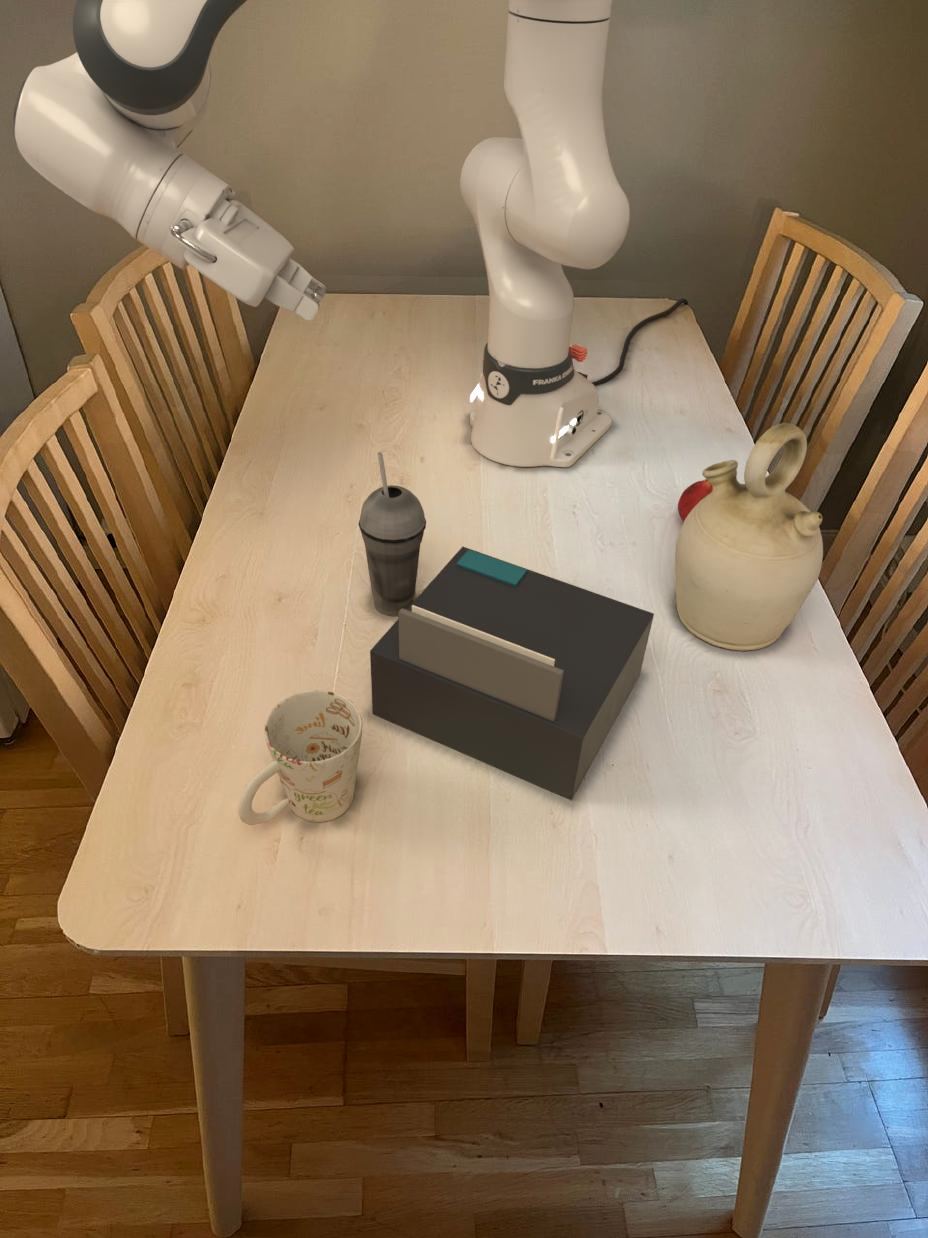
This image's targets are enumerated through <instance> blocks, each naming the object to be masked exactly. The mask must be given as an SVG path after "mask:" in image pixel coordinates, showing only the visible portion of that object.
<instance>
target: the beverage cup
mask: <svg viewBox="0 0 928 1238" xmlns="http://www.w3.org/2000/svg"><path fill="white" fill-rule="evenodd" d="M377 458H378V466H379V471H380V472H379V473H380V478H381V479H380V480H381V484H382V485H381V487H378V488H377V489H376V490H374V491H372V492H371V493H370V494H369V495H368V496H367V497H366V499H365V500H364V501H363V504H362V507H361V510H360V515H359V520H358V528H359V531H360V533H361V537H362V540H363V543H364V548H365V554H366V561H367V568H368V576H369V581H370V589H371V594H372V598H373V603H374V608H375V610H376V611H377V612H379V613H380V614H382V615H384V616H387V617H399V611H400V610H401V609H402V608H403V609H405V610H407V609H408V607H409V606H410V605H411V604H412V603H413V602H414V601H415V596H416V589H417V588H416V587H417V579H418V570H419V561H420V551H421V543H422V542H423V538H424V535H425V530H426V528H427V527H426V526H427V519H426V516H425V511H424V508H423V506H422V503H421V502H420V500H419V498H418V496H416V494H414V493H413V492H412V491H411V490H409V489H408V488H405V487H403V486H399V485H392V484H391V485H388V481H387V475H386V469H385V462H384V455H383V452H382V451H378V452H377Z"/></svg>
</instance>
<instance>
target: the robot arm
mask: <svg viewBox="0 0 928 1238" xmlns="http://www.w3.org/2000/svg"><path fill="white" fill-rule="evenodd" d="M252 1H253V0H76V2H75V6H74V10H73V16H72V34H73V42H74V46H75V49H76V52H75V53H73V54H71V55H69V56H67V57H66V58H63V59H60V60H58V61H56V62H53V63H51V64H47V65H40V66H36V67H34V68H33V69H32V70H30V72H29V73H28V75H27V76H26V78H25V79H24V80H23V81H22V83H21V86H20V89H19V91H18V94H17V97H16V101H15V104H14V111H13V116H12V119H13V124H12V125H13V126H12V132H13V137H14V141H15V145H16V147H17V149H18V151H19V154H20V155H21V156H22V158H23V159H24V160H25V162H26V163H27V164H28V165H29V166H30V167H31V168H32V169H33V170H34V171H36V172H37V173H38V174H39V175H40V176H41V177H43V178H44V179H45V180H47V181H48V182H49V183H50V184H52V185H53V186H55V187H56V188H57V189H58V190H60V191H62V193H64V194H66V195H67V196H69V197H70V198H72V199H73V200H74V201H76V202H77V203H79V204H80V205H82V206H83V207H85V208H86V209H88V210H89V211H91V212H92V213H95V214H98V215H99V216H100V215H101V216H104V217H107V218H109V219H111V220H112V221H114V222H116V223H117V224H118V225H120V226H121V227H122V228H123V229H124V230H125V231H126V232H127V233H128V235H130V236H131V238H133V239H134V240H135V241H137V242H138V243H140V244H142V245H143V246H145V247H146V248H148V249H150V250H151V251H153V252H154V253H155V254H158V256H160V257H161V258H163V259H165V260H167V261H168V262H169V263H171V264H173V265H174V266H176V267H177V268H179V269H181V270H183V271H184V270H186V269H187V268H188V267H189V266H191V267H192V268H193V269H195V270H196V271H197V272H198V273H200V274H201V275H203V276H204V277H205V278H207V279H208V280H210V281H211V282H212V283H214V284H216V285H217V286H218V287H219V288H221V289H222V290H224V291H225V292H227V293H228V294H230V296H232V297H234V298H236V299H237V300H238V301H240V302H242V303H244V304H245V305H247V306H250V307H252V308H253V307H254V308H256V307H259V305H260V304H261V303H262V301H263V300H264V299H266V300H267V301H269V303H272V304H273V305H275V306H277V307H280V308H282V309H285V310H287V311H290V312H292V313H294V314H295V315H297V316H299V317H301V318H302V319H304V320H305V321H306V322H312V321H313V320H314V318H315V317H316V315H317V313H318V312H319V310H320V302H321V301H322V299H323V298H324V296H325V294H326V293H327V287H326V285H325V284H323V283H322V282H321V281H319V280H317V279H316V278H315V277H313V276H312V274H310V273H309V272H308V271H307V270H306V269H305V268H304V267H303V266H302V265H301V264H300V263H298V262H297V261H295V260H294V259H292V256H293V255H294V252H295V248H294V246H293V245H292V244H291V243H290V242H289V241H288V240H287V239H286V238H285V237H284V236H283V235H282V234H281V233H280V232H278V231H277V230H276V229H274V227H272V226H271V225H270V224H269V223H267V222H266V221H265V220H263V219H262V218H261V217H259V216H258V215H257V214H256V213H255V212H254V211H252V210H251V209H250V208H248V207H247V206H246V205H245V204H243V203H242V202H240V201H238V200H237V199H235V196H236V192H235V190H233V189H232V188H231V187H230V185H229V184H228V183H226V182H225V181H224V180H222V179H221V178H220V177H218V176H216V175H215V174H214V173H212V172H210V171H209V170H208V169H207V168H205V167H203V165H201V164H200V163H197V162H196V161H195V160H193V159H192V158H190V157H189V156H188V155H186V154H184V153H183V152H182V151H181V150H179V149H178V148H179V147H180V146H181V145H182V144H183V143H184V142H185V141H186V139H187V138H188V137H189V136H190V135H191V133H192V132H193V131H194V130H195V128H196V127H198V125H199V124H200V123H201V122H202V120H203V119H204V118H205V116H206V115H207V113H208V111H209V108H210V105H211V102H212V95H213V79H212V69H211V63H210V58H211V54H212V51H213V48H214V46H215V44H216V41H217V38H218V37H219V35H220V33H221V31H222V30H223V29H224V27H225V26H226V25H227V24H228V22H229V21H231V19H233V18H234V17H235V16H236V15H237V14H239V13H240V12H241V11H242V10H243V9H244V8H245V7H246V6H247V5H248V4H250V3H251V2H252ZM612 5H613V0H508V7H507V8H508V9H507V23H506V24H507V25H506V26H507V27H506V39H505V53H504V70H503V91H504V94H505V98H506V101H507V104H508V106H509V107H510V109H511V111H512V112H513V115H514V117H515V119H516V122H517V125H518V128H519V132H520V137H521V138H520V137H509V136H492V137H488V138H485V139H483V140H481V141H480V142H478V143H477V144H476V145H475V146H474V147H473V148H472V150H471V151H470V152H469V153H468V155H467V157H466V159H465V160H464V161H463V165H462V168H461V172H460V179H459V187H460V194H461V198H462V200H463V202H464V204H465V206H466V208H467V209H468V211H469V213H470V215H471V218H472V220H473V222H474V225H475V229H476V231H477V234H478V239H479V242H480V243H479V244H480V247H481V253H482V256H483V262H484V266H485V271H486V278H487V284H488V298H489V299H488V301H489V303H488V325H487V326H488V327H487V329H488V330H487V343H485V345H484V349H483V355H482V360H481V361H482V372H481V373H480V376H479V382H478V384H477V385H476V387H475V388H474V390H472V392H471V394H470V395H469V402H470V403H473V402H474V400H475V399H476V400H475V408H474V410H472V411H471V412H470V413H469V419H468V421H469V424H470V426H471V427H472V429H471V433H470V443H471V445H472V447H473V449H475V450H476V452H477V453H478V454H480V455H481V456H483V457H484V458H486V459H488V460H490V461H493V462H495V463H498V464H501V465H506V466H511V467H519V468H520V467H522V468H532V467H544V466H545V467H546V466H547V467H556V468H570V467H571V466H573V465H574V464H575V463H576V462H577V461H578V460H579V459H580V458H581V457H582V456H583V455H584V454H585V453H586V452H587V451H588V450H589V449H590V448H592V446H593V445H594V444H595V443H596V442H598V440H600V438H601V437H602V436H603V435H604V434H605V433H606V432H607V431H608V430H610V428H611V427H612V424H613V423H612V422H613V420H612V417H611V416H610V415H609V414H608V413H607V412H606V411H604V410H603V409H602V408H600V407H599V392H598V389H597V386H600V385H603V384H605V383H607V382H609V381H611V380H612V379H614V378H615V377H616V376H618V375H619V374H620V373H621V372H622V370H623V369H624V367H625V362H626V358H627V355H628V351H629V346H630V343H631V340H632V339H633V337H634V335H636V333H637V332H638V331H639V330H640V329H641V328H642V327H644V326H645V325H647V324H648V323H650V322H653V321H656V320H658V319H661V318H663V317H665V316H668V315H670V314H671V313H673V312H674V311H675V310H676V309H678V307H680V306H681V305H682V304H683V305H685V306H688V305H689V301H688V299H686V298H680V299H679V300H677V301H676V302H675V303H674V304H672V305H671V306H670V308H668V309H666V310H664V311H661V312H659V313H656V314H654V315H651V316H649V317H647V318H645V319H642V320H641V321H640V322H638V323H637V324H636V325H635V326H634V327H633V328H631V330H630V332H629V333H628V335H627V336H626V338H625V340H624V344H623V348H622V352H621V354H620V358H619V364H618V365H617V368H616V369H615V370H613V371H612V372H610V373H609V374H608V375H606V376H604V377H602V378H601V379H598V380H596V381H590V380H589V379H588V376H589V375H588V374H585V373H582V372H581V371H577V370H575V367H574V361H573V359H574V360H575V361H577V362H579V363H583V362H585V360H586V358H587V356H588V349H587V347H584V346H580V345H579V344H577V343H573V344H572V345H571V346H570V343H571V338H572V337H571V335H572V328H573V321H574V320H573V318H574V311H575V296H574V291H573V288H572V286H571V285H572V284H570V282H569V280H568V278H567V276H566V275H565V272H564V270H563V267H562V266H565V267H569V268H570V267H571V268H574V269H575V268H576V269H583V270H593V269H594V270H595V269H597V268H599V267H601V266H603V265H605V264H606V263H608V261H610V260H611V259H612V258H613V257H614V256H615V255H616V254H617V253H618V251H620V248H621V247H622V246H623V243H624V241H625V240H626V237H627V234H628V232H629V227H630V222H631V221H630V220H631V209H630V203H629V199H628V197H627V195H626V193H625V191H624V190H623V188H622V186H621V185H620V183H619V180H618V179H617V176H616V173H615V171H614V167H613V165H612V161H611V157H610V153H609V147H608V142H607V136H606V129H605V122H604V109H603V93H604V91H603V90H604V77H605V68H606V56H607V48H608V39H609V30H610V23H611V15H612V14H611V13H612Z"/></svg>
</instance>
